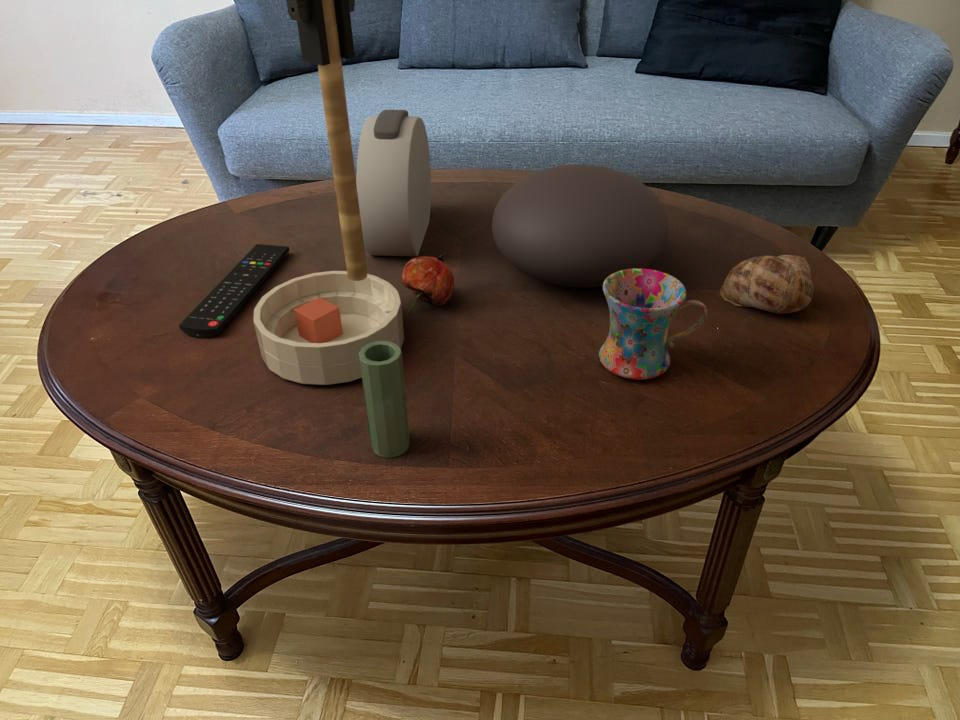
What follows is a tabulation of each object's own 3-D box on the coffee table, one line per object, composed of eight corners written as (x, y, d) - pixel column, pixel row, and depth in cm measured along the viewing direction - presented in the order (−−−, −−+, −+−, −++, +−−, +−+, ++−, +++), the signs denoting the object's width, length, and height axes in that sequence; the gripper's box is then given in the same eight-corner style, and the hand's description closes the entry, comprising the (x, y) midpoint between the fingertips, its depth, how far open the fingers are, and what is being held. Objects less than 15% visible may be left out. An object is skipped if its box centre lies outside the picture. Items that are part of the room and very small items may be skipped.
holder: (389, 463, 73) (378, 370, 66) (363, 446, 76) (350, 353, 69) (417, 443, 76) (409, 351, 69) (391, 427, 78) (381, 336, 71)
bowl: (323, 408, 81) (315, 365, 77) (234, 350, 90) (224, 310, 87) (432, 341, 91) (429, 301, 88) (342, 295, 101) (337, 257, 97)
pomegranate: (436, 335, 96) (479, 276, 97) (402, 308, 91) (448, 245, 92) (407, 317, 102) (448, 261, 102) (373, 290, 97) (417, 231, 97)
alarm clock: (390, 209, 125) (380, 92, 113) (433, 210, 124) (426, 92, 112) (364, 267, 107) (348, 137, 96) (413, 269, 107) (403, 138, 95)
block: (318, 347, 89) (313, 320, 87) (298, 335, 92) (293, 309, 89) (343, 333, 92) (339, 307, 90) (323, 323, 94) (319, 296, 92)
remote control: (290, 254, 111) (288, 246, 110) (217, 340, 92) (214, 331, 91) (258, 251, 112) (256, 244, 111) (179, 336, 93) (176, 327, 92)
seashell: (785, 274, 103) (817, 237, 93) (798, 332, 99) (833, 298, 90) (713, 276, 102) (738, 238, 93) (724, 334, 99) (750, 300, 90)
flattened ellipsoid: (473, 244, 113) (472, 152, 105) (620, 225, 118) (630, 136, 109) (519, 326, 94) (521, 222, 85) (692, 300, 99) (711, 198, 90)
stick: (356, 283, 71) (310, -64, 54) (343, 276, 73) (294, -66, 55) (371, 275, 73) (331, -66, 55) (358, 269, 74) (315, -68, 56)
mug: (594, 383, 84) (602, 306, 78) (595, 339, 91) (603, 265, 85) (699, 392, 82) (716, 314, 76) (692, 346, 90) (706, 272, 84)
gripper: (333, -306, 53) (367, 36, 67) (140, -332, 44) (226, 70, 58) (403, -319, 49) (423, 48, 63) (206, -350, 40) (281, 86, 54)
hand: (328, 58), depth 60 cm, fingers closed on stick, 2 cm apart
